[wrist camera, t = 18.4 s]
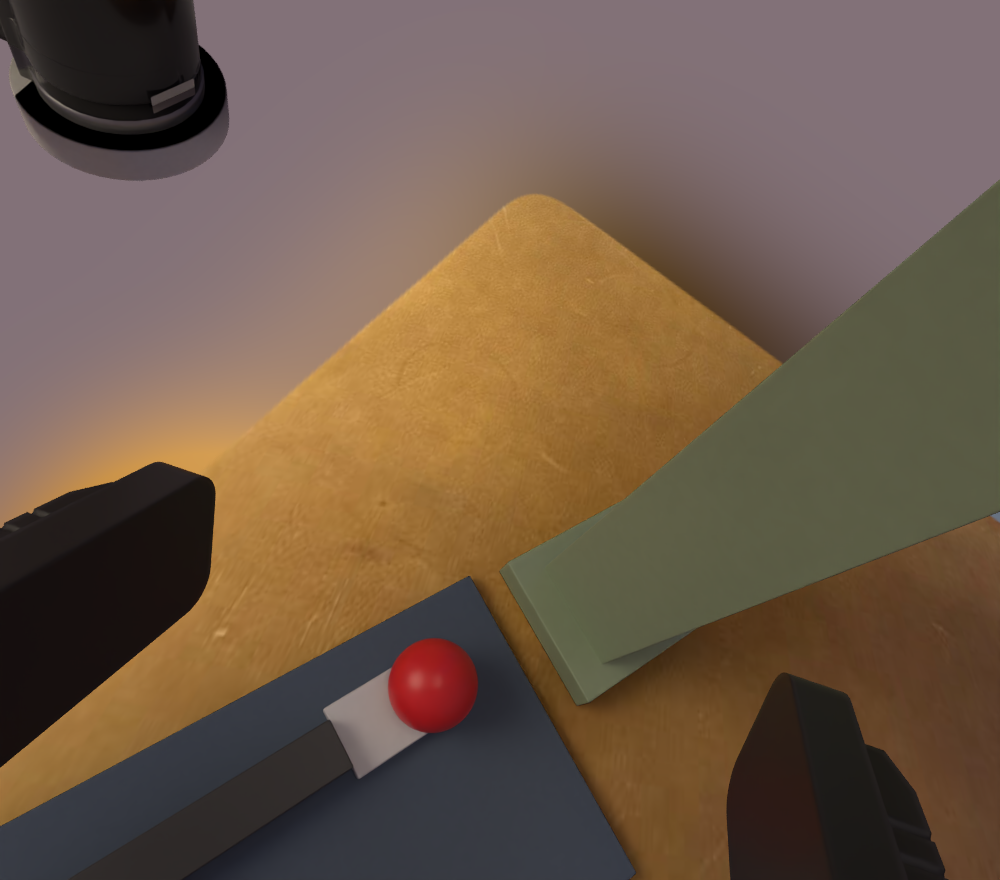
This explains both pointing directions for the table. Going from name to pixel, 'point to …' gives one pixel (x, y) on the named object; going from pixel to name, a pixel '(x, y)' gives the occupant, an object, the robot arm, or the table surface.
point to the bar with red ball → (307, 763)
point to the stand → (795, 471)
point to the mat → (357, 780)
